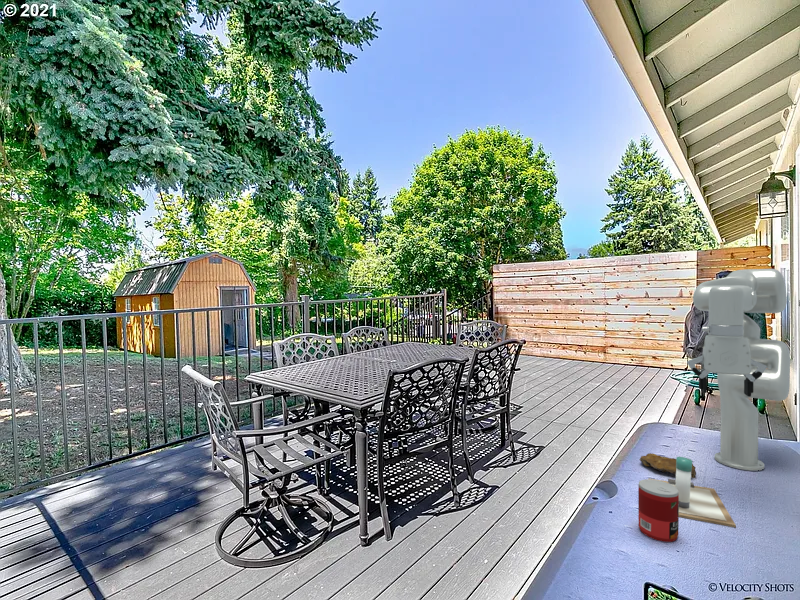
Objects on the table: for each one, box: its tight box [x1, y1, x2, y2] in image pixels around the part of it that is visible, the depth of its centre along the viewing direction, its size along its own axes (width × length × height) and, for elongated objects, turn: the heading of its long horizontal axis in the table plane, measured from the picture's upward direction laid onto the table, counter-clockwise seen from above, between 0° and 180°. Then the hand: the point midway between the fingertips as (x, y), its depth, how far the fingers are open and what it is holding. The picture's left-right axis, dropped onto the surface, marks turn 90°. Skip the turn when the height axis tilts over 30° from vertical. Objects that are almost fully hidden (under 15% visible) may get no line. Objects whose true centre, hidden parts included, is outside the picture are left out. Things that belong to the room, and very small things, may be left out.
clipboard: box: [647, 477, 737, 528], centre depth 111 cm, size 20×16×2 cm
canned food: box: [637, 478, 680, 543], centre depth 97 cm, size 8×8×11 cm
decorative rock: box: [639, 452, 697, 479], centre depth 130 cm, size 11×4×15 cm
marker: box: [675, 456, 693, 508], centre depth 107 cm, size 3×3×12 cm
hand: (725, 393), depth 113 cm, fingers open, 9 cm apart
